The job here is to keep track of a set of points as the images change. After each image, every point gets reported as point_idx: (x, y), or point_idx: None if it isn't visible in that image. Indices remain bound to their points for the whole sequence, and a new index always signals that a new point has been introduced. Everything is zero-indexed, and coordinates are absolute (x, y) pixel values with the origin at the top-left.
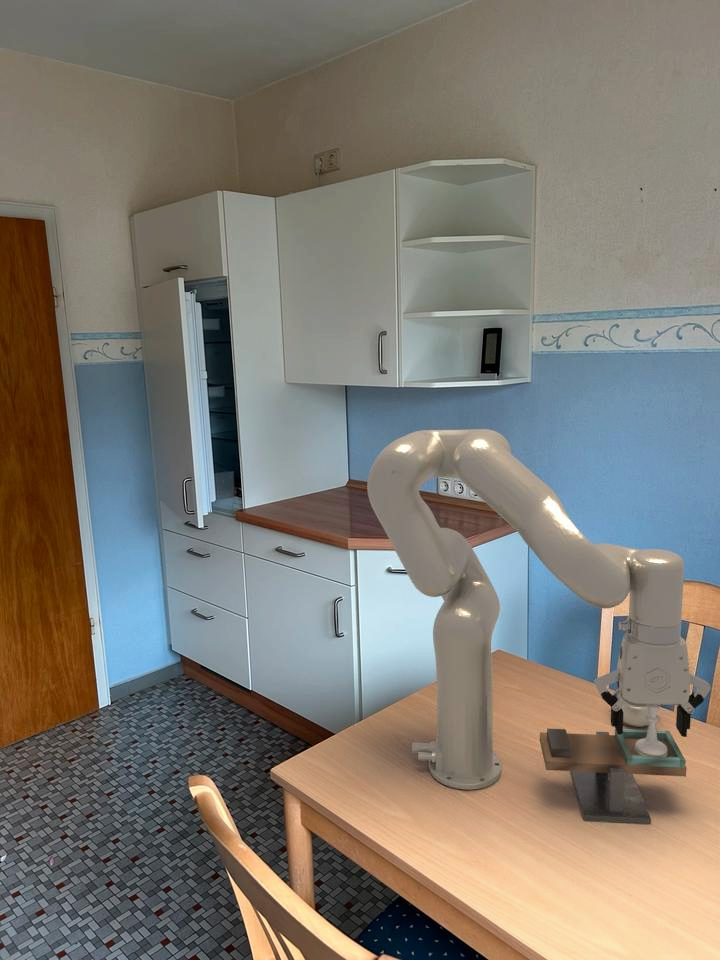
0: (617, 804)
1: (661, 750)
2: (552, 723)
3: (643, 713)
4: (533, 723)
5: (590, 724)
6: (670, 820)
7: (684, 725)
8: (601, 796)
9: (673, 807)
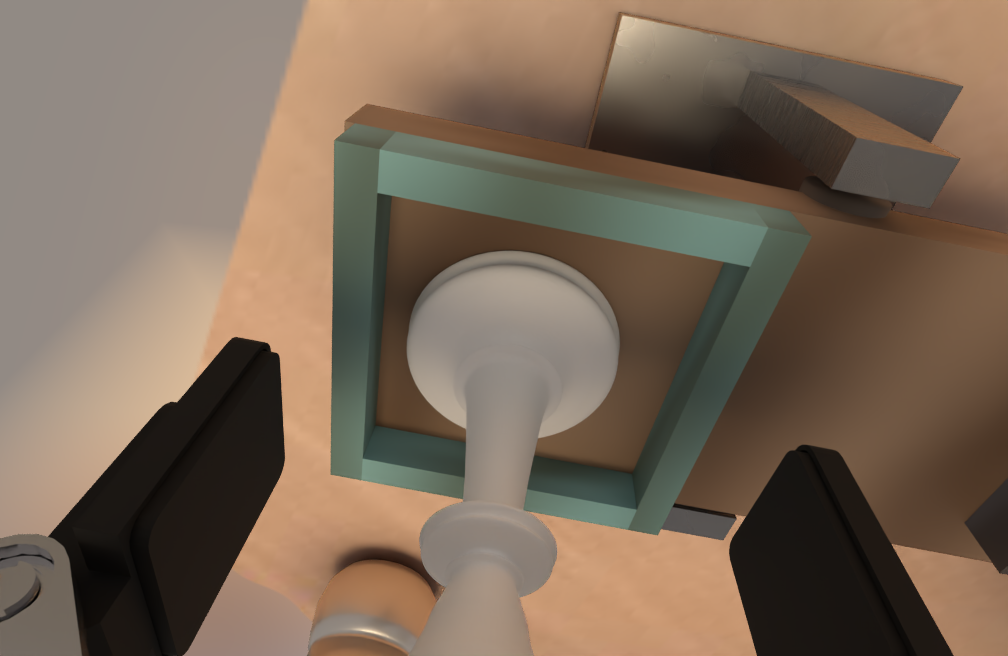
0: (798, 87)
1: (467, 304)
2: (659, 612)
3: (362, 607)
4: (722, 621)
5: (537, 592)
6: (503, 36)
7: (199, 416)
8: None
9: None
